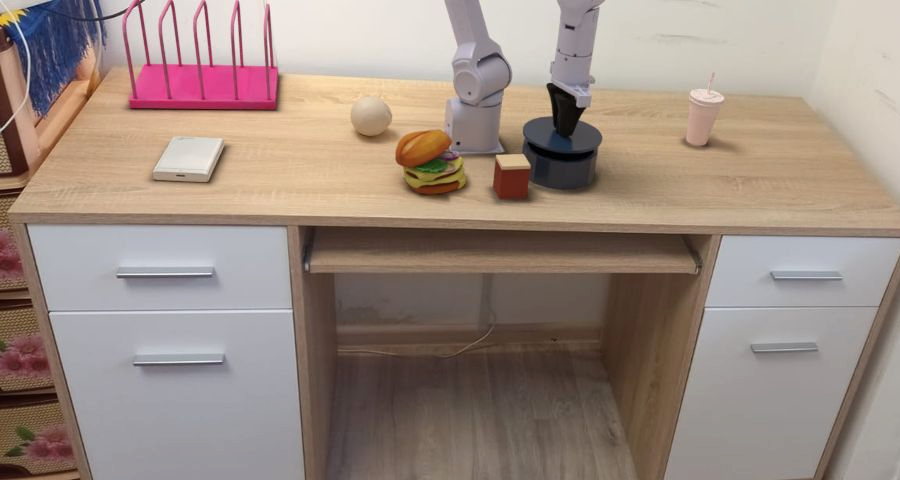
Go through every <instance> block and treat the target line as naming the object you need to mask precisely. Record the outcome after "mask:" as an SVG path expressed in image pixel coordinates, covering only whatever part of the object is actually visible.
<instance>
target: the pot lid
mask: <svg viewBox="0 0 900 480" xmlns="http://www.w3.org/2000/svg"><path fill="white" fill-rule="evenodd" d="M522 135H523V137H524V138H526V139H527V140H528V141H529V142H531V143H532V144H534V145H536V146H538V147H540V148H543V149H546V150H550V151H554V152H561V153H583V152H588V151H592V150H594V149H596V148H598V149H599V148H600V146H601V144H602V143H603V134H602V133H601V131H600V130H599V129H598V128H597V127H595V126H594V125H592V124H590V123H588V122H585V121H583V120H580V119H579V121H578V123H577V125H576V128H575V130H574V132H573V135H572V136H560V134H559V113H558V117H557V124H556V128H555V127H554V125H553V116H552V115H551V116H547V115H546V116H540V117H535V118H532V119H530V120H528V121H527V122H526V123H524V125H523V127H522Z"/></svg>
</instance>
